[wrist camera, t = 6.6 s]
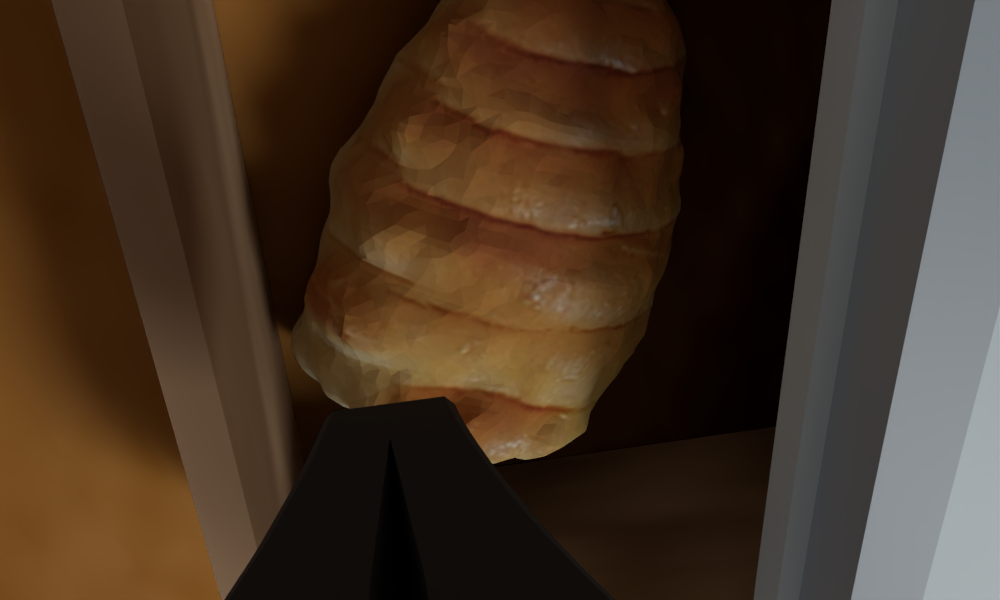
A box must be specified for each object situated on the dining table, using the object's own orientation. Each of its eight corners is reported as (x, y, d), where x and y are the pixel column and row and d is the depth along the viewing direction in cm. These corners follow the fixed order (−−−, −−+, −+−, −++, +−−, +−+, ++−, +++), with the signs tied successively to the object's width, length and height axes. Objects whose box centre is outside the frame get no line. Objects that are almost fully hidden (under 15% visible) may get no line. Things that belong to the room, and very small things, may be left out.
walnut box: (284, 521, 18) (257, 727, 13) (137, -143, 12) (-3, -190, 7) (823, 442, 20) (967, 600, 15) (926, -175, 14) (1216, -231, 9)
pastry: (394, -130, 13) (410, -153, 9) (739, -6, 15) (855, 14, 11) (285, 352, 16) (268, 462, 13) (576, 403, 18) (628, 511, 15)
